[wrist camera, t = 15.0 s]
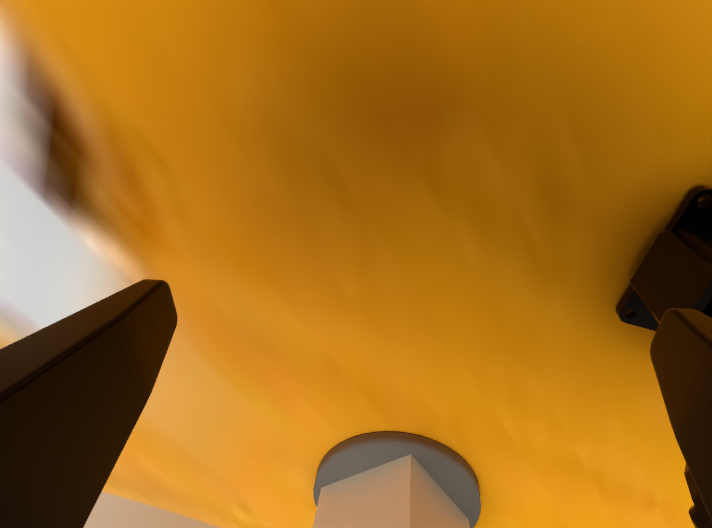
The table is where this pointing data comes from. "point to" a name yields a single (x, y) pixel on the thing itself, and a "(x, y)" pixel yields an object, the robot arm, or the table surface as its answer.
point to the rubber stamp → (388, 500)
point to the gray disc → (394, 445)
